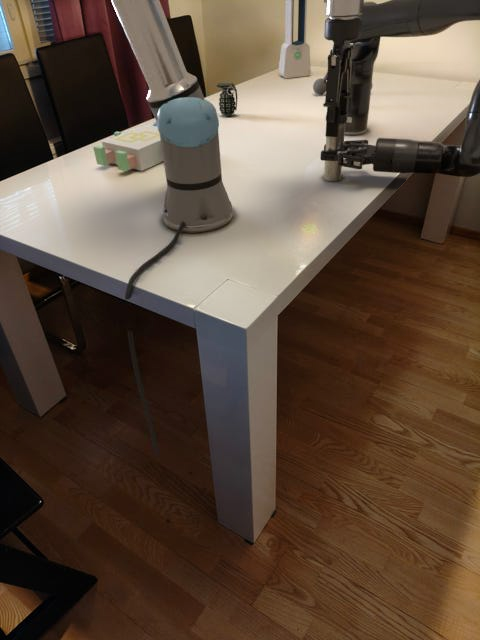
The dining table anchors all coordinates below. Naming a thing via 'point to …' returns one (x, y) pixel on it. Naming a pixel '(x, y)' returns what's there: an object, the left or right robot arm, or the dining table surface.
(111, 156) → the decorative block
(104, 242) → the dining table surface
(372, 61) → the right robot arm
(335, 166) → the grey metal cylinder
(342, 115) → the lid
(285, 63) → the electronic device
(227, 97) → the grenade
